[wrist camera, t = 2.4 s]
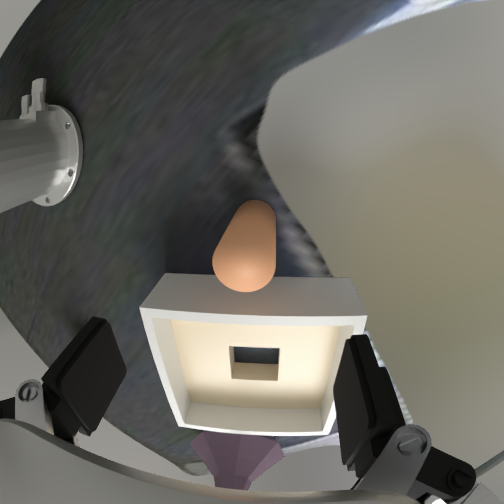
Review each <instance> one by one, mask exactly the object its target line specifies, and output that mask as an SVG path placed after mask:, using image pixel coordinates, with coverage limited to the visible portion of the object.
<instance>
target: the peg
mask: <svg viewBox="0 0 504 504" xmlns="http://www.w3.org/2000/svg"><path fill="white" fill-rule="evenodd" d="M212 264H213V269H214V272H215V274H216V276H217V278H218V279H219V280H220V281H221V282H222V283H223V284H224V285H225V286H227V287H228V288H230V289H232V290H235V291H239V292H252V291H256V290H259V289H261V288H263V287H264V286H265V285H267V284H268V283H269V282H270V280H271V279H272V277H273V275H274V273H275V268H276V216H275V213H274V211H273V209H272V208H271V207H270V206H269V205H268V204H267V203H265V202H263V201H260V200H250V201H247V202H245V203H243V204H242V205H241V206H240V207H239V208H238V209H237V211H236V213H235V214H234V216H233V218H232V220H231V222H230V224H229V225H228V227H227V229H226V231H225V233H224V235H223V236H222V238H221V240H220V242H219V244H218V246H217V247H216V249H215V252H214V254H213V259H212Z"/></svg>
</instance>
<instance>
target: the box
mask: <svg viewBox="0 0 504 504" xmlns="http://www.w3.org/2000/svg"><path fill="white" fill-rule="evenodd" d="M139 308H140V312H141V315H142V319H143V323H144V327H145V330H146V334H147V337H148V341H149V344H150V347H151V351H152V354H153V357H154V360H155V363H156V366H157V370H158V373H159V375H160V378H161V381H162V384H163V387H164V390H165V392H166V395H167V398H168V401H169V403H170V406H171V408H172V411H173V413H174V416H175V418H176V421H177V423H178V426H181V427H187V428H193V429H200V430H207V431H215V432H224V433H234V434H248V435H268V436H307V435H328V434H329V433H330V430H331V428H332V425H333V423H334V420H335V418H336V410H335V403H334V396H333V386H334V382H335V378H336V375H337V371H338V368H339V364H340V360H341V356H342V352H343V348H344V344H345V341H346V339H350V337H351V335H361V334H363V331H364V327H365V323H366V319H367V313H366V311H365V309H364V307H363V305H362V302H361V300H360V298H359V296H358V294H357V292H356V289H355V287H354V285H353V283H352V281H351V279H350V278H343V277H340V278H337V277H272V279H271V280H270V282H269V283H268V284H267V285H265V286H264V287H263V288H261V289H259V290H256V291H252V292H239V291H235V290H232V289H230V288H228V287H227V286H225V285H224V284H223V283H222V282H221V281H220V280H219V279H218V278H217V276H216V275H202V274H177V273H165V274H164V275H163V277H162V278H161V279H160V281H159V282H158V283H157V284H156V286H155V287H154V288H153V290H152V291H151V292H150V294H149V295H148V296H147V298H146V299H145V301H144V302H143V303H142V305H141V306H140V307H139ZM234 346H238V347H259V348H279V358H278V364H260V363H240V362H235V359H234Z"/></svg>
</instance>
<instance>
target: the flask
mask: <svg viewBox="0 0 504 504" xmlns="http://www.w3.org/2000/svg"><path fill="white" fill-rule="evenodd" d="M190 445H191V446H192V448H193V449H194V450H195V452H196V453H197V454H198V455H199V457H200V458H201V459H202V461H203V462H204V463H205V465H206V466H207V468H208V469H209V471H210V472H211V474H212V475H213V476H214V480H215V487H220V488H228V489H237V490H248V489H249V487H250V485H251V483H252V482H253V481H254V480H255V479H257V478H258V477H259V476H260V475H261V474H263V473H264V472H265V471H266V470H267V469H269V468H270V467H272V466H273V465H274V464H276V463H277V462H278V461H280V460H281V459H282V458H283V457H285V456H284V454H283V452H282V450H281V448H280V445H279V443H278V442H277V441H276V440H275V439H274V438H273V437H272V436H268V435H248V434H234V433H224V432H215V431H207V430H205V431H203V432H202V433H200V434H199V435H198V436H197V437H196V438H195V439H193V440H192V441H191V442H190Z"/></svg>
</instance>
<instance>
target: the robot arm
mask: <svg viewBox="0 0 504 504" xmlns="http://www.w3.org/2000/svg"><path fill="white" fill-rule="evenodd" d="M46 85H47V79H46V78H40V79H36V80H34V81H33V82H32V93H31V95H25V96H23V97H22V104H21V107H22V115H20V118H19V119H14V120H3V121H0V213H2V212H4V211H6V210H9V209H11V208H13V207H16V206H18V205H20V204H23V203H25V202H28V201H30V200H32V201H34V202H35V203H37V204H39V205H41V206H52V205H55V204H57V203H60V202H61V201H63V200H64V199H66V198H67V197H68V195H69V194H70V193H71V192H72V190H73V189H74V187H75V185H76V183H77V180H78V178H79V175H80V171H81V167H82V160H83V142H82V135H81V131H80V128H79V125H78V123H77V121H76V118H75V117H74V116H73V114H72V113H71V112H70V111H69V110H68V109H66V108H65V107H62V106H60V105H48V103H45V94H46ZM31 97H32V106H31ZM125 375H126V366H125V364H124V361H123V359H122V356H121V353H120V351H119V348H118V345H117V343H116V340H115V337H114V334H113V331H112V328H111V325H110V324H109V323H108V322H107V320H106V319H104V318H98V317H92V318H91V319H90V320H89V321H88V322H87V324H86V325H85V326H84V327H83V328H82V329H81V330H80V332H79V333H78V334H77V335H76V336H75V337H74V339H73V340H72V341H71V342H70V343H69V345H68V346H67V347H66V348H65V349H64V351H63V352H62V353H61V354H60V355H59V357H58V358H57V359H56V360H55V362H54V363H53V364H52V365H51V367H50V368H49V369H48V371H47V372H46V373H45V374H44V376H43V377H42V378H41V379H42V381H43V382H44V383H43V384H42V385H41V383H40V382H39V381H37V380H34V379H31V380H27V381H24V382H23V383H22V384H20V385H19V387H18V388H17V390H16V395H15V397H13V398H9V399H6V400H2V401H0V504H504V503H503V502H502V501H501V500H500V499H499V498H498V497H497V496H496V495H495V494H494V493H493V492H492V491H491V490H489V489H488V488H487V487H486V486H485V485H484V484H483V483H482V482H480V483H479V484H478V483H477V482H476V473H475V470H474V469H473V467H472V466H471V465H470V464H468V463H466V462H464V461H462V460H459V459H457V458H455V457H453V456H451V455H448V454H447V453H444V452H442V451H440V450H438V449H436V448H434V447H432V446H431V437H430V435H429V433H428V432H427V431H426V430H425V429H424V428H422V427H421V426H418V425H414V424H408V425H406V424H405V421H404V417H403V414H402V411H401V408H400V405H399V402H398V399H397V396H396V393H395V390H394V388H393V385H392V382H391V379H390V376H389V374H388V371H387V369H386V368H385V367H379V365H378V362H377V360H376V357H375V354H374V351H373V349H372V346H371V343H370V341H369V338H368V336H367V335H366V334H361V335H351V337H350V339H346V341H345V344H344V348H343V352H342V356H341V360H340V364H339V368H338V371H337V375H336V378H335V382H334V386H333V396H334V403H335V410H336V417H337V424H338V432H339V439H340V448H341V456H342V463H343V465H347V468H348V471H353V470H355V471H356V476H357V477H358V480H357V481H356V482H355V483H354V485H353V486H352V487H351V488H350V490H338V491H318V492H317V491H316V492H265V491H248V490H237V489H228V488H220V487H213V486H206V485H200V484H194V483H189V482H184V481H180V480H175V479H171V478H166V477H162V476H158V475H155V474H151V473H148V472H144V471H141V470H137V469H134V468H131V467H128V466H125V465H122V464H119V463H116V462H114V461H111V460H108V459H106V458H103V457H101V456H98V455H95V454H93V453H91V452H88V451H86V450H84V449H82V448H80V446H79V443H78V439H77V435H76V433H77V432H78V431H79V432H80V433H82V434H85V435H87V436H90V435H91V433H92V432H93V431H95V430H96V429H97V427H98V425H99V423H100V421H101V419H102V417H103V415H104V414H105V412H106V410H107V408H108V406H109V404H110V402H111V401H112V399H113V397H114V395H115V393H116V392H117V390H118V388H119V386H120V384H121V383H122V381H123V379H124V377H125Z"/></svg>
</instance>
